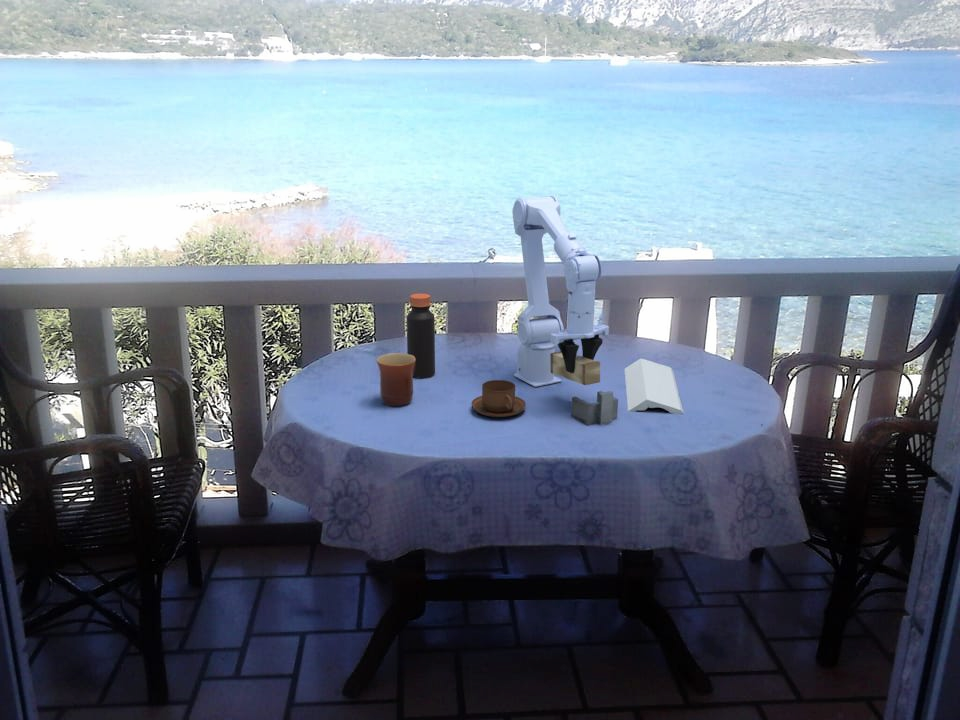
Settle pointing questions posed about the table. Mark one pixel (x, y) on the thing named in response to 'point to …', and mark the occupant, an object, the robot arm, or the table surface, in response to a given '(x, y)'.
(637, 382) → the crown molding
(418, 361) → the bottle
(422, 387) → the table surface
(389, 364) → the mug
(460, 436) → the table surface
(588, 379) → the tan rectangular block
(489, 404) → the cup and saucer
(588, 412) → the bracket
